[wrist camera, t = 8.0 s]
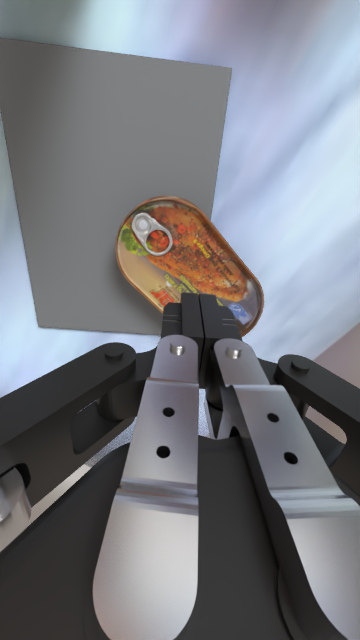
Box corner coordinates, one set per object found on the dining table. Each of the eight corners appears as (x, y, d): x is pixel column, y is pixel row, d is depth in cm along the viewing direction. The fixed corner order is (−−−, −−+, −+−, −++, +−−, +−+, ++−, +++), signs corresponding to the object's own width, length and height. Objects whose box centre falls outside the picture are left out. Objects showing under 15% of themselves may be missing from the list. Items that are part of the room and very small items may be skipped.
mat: (231, 69, 20) (232, 68, 20) (193, 334, 31) (194, 336, 31) (-9, 38, 19) (-13, 36, 19) (39, 324, 30) (38, 326, 30)
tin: (281, 311, 27) (209, 363, 29) (269, 297, 30) (204, 346, 32) (173, 170, 21) (91, 250, 23) (170, 169, 23) (98, 240, 26)
